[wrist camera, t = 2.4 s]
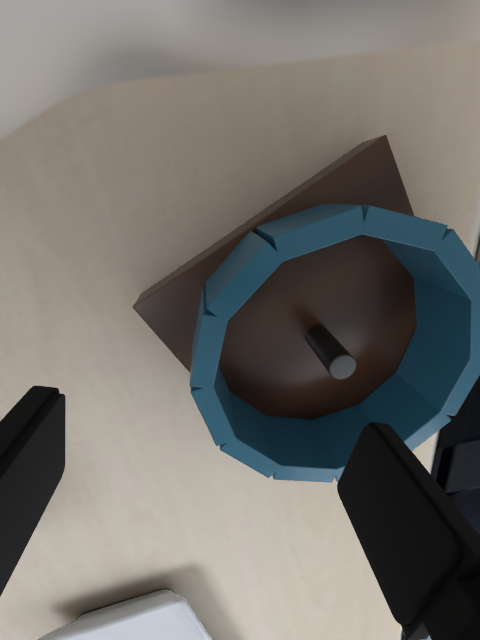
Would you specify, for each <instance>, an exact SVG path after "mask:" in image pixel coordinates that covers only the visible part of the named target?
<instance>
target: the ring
mask: <svg viewBox="0 0 480 640" xmlns="http://www.w3.org/2000/svg"><path fill="white" fill-rule="evenodd" d="M447 227H448V226H447V225H445V224H441V223H437V222H433V221H429V220H425V219H421V218H417V217H413V216H409V215H405V214H402V213H398V212H394V211H390V210H386V209H382V208H378V207H374V206H370V205H351V204H332V203H329V204H320V205H317V206H314V207H312V208H309V209H306V210H303V211H300V212H297V213H294V214H291V215H288V216H285V217H283V218H280V219H277V220H274V221H271V222H268V223H265V224H262V225H259V226H257V227H256V229H257V233H258V235H257V234H255V233H254V232H253V231H249V233H248V234H247V235H246V236H245V237H244V238H243V239H242V241H241V242H240V243H239V244H238V245H237V246H236V248H235V249H234V250H233V251H232V252H231V253H230V254H229V256H228V257H227V258H226V259H225V260H224V261H223V262H222V264H221V265H220V266H219V267H218V268H217V269H216V270H215V272H214V273H213V274H212V275H211V276H210V277H209V278H208V280H207V281H206V282H205V283H206V288H205V287H203V289H202V294H201V300H200V306H199V311H198V317H197V323H196V328H195V334H194V340H193V345H192V360H191V375H190V387H191V394H192V396H193V398H194V400H195V402H196V404H197V406H198V409H199V411H200V413H201V415H202V417H203V419H204V421H205V423H206V425H207V427H208V429H209V432H210V434H211V436H212V438H213V440H214V442H215V444H216V446H218V445H220V450H221V451H223V452H225V453H226V454H228V455H230V456H232V457H233V458H235V459H237V460H239V461H240V462H242V463H244V464H245V465H247V466H249V467H251V468H252V469H254V470H256V471H258V472H259V473H261V474H263V475H264V476H266V477H268V478H269V477H270V476H272V475H273V479H276V480H295V481H313V482H331V483H332V481H333V479H334V477H335V478H336V481H337V482H338V481H339V479H340V477H341V474H342V472H343V470H344V468H345V466H346V464H347V461H348V459H349V457H350V455H351V453H352V451H353V448H354V446H355V444H356V442H357V440H358V438H359V435H360V433H361V431H362V429H363V427H365V426H367V425H368V423H370V422H377V423H387V424H389V425H390V426H391V427H392V428H393V429H394V430H395V432H396V433H397V434H398V435H399V436H400V438H401V439H402V440H403V441H404V443H405V444H406V445H407V446H408V448H409V449H410V450H411V451H412V450H414V449H415V448H416V447H418V446H419V445H420V444H421V443H423V442H424V441H425V440H427V439H428V438H429V437H430V436H432V435H433V434H434V433H436V432H437V431H438V430H439V429H441V428H442V427H443V426H444V425H446V424H447V423H448V422H450V421H451V419H450V418H449V417H448V416H447V415H453V416H455V415H456V414H457V412H458V410H459V408H460V407H461V405H462V403H463V402H464V400H465V398H466V397H467V395H468V393H469V392H470V390H471V388H472V387H473V385H474V383H475V381H476V380H477V378H478V376H479V375H480V267H479V265H478V264H477V262H476V261H475V259H474V258H473V257H472V255H471V254H470V252H469V251H468V249H467V248H466V247H465V245H464V244H463V242H462V241H461V239H460V238H459V237H458V235H457V234H456V232H455V231H454V230H453V229H447ZM359 235H367V236H371V237H375V238H379V239H382V241H383V242H384V243H385V244H386V245H387V247H388V248H389V249H390V250H391V251H392V253H393V254H394V255H395V256H396V257H397V259H398V260H399V261H400V262H401V263H402V265H403V266H404V267H405V268H406V269H407V271H408V272H409V273H410V274H411V275H412V277H413V278H414V292H415V307H416V321H417V328H416V330H415V332H414V335H413V337H412V339H411V341H410V343H409V345H408V347H407V349H406V352H405V354H404V356H403V358H402V360H401V362H400V364H399V366H398V369H397V371H396V372H395V373H394V374H393V375H392V376H391V377H390V378H388V379H387V380H386V381H385V382H384V383H383V384H381V385H380V386H379V387H378V388H377V389H376V390H374V391H373V392H372V393H371V394H370V395H369V396H367V397H366V398H365V399H364V400H363V401H362V402H361V403H359V404H358V405H355V406H352V407H349V408H346V409H343V410H340V411H337V412H334V413H331V414H328V415H325V416H322V417H319V418H316V419H313V420H307V419H297V418H287V417H277V416H266V415H265V414H263V413H262V412H260V411H259V410H257V409H256V408H254V407H253V406H251V405H250V404H248V403H247V402H245V401H244V400H242V399H241V398H240V397H238V396H237V395H235V394H234V393H232V392H231V391H229V389H228V387H227V384H226V382H225V379H224V377H223V374H222V372H221V370H220V367H219V365H218V364H219V359H220V354H221V350H222V345H223V341H224V336H225V331H226V327H227V322H228V320H229V319H230V318H231V317H232V316H233V315H234V314H235V313H236V312H237V310H238V309H239V308H240V307H241V306H242V305H243V304H244V303H245V302H246V301H247V300H248V299H249V298H250V297H251V295H252V294H253V293H254V292H255V291H256V290H257V289H258V288H259V287H260V286H261V285H262V284H263V283H264V281H265V280H266V279H267V278H268V277H269V276H270V275H271V274H272V273H273V272H274V271H275V270H276V269H277V267H278V266H279V265H280V264H281V263H282V262H283V261H286V260H289V259H292V258H295V257H298V256H300V255H303V254H306V253H309V252H312V251H315V250H318V249H321V248H324V247H327V246H330V245H333V244H336V243H338V242H341V241H344V240H347V239H350V238H353V237H356V236H359Z"/></svg>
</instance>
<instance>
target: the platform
mask: <svg viewBox="0 0 480 640" xmlns="http://www.w3.org/2000/svg"><path fill="white" fill-rule="evenodd" d="M329 203H332V204H351V205H370V206H374V207H378V208H382V209H386V210H390V211H394V212H398V213H402V214H405V215H409V216H413V217H414V214H413V211H412V208H411V205H410V203H409V200H408V197H407V194H406V191H405V188H404V185H403V182H402V180H401V177H400V174H399V171H398V168H397V165H396V162H395V159H394V157H393V154H392V151H391V148H390V145H389V142H388V139H387V136H386V135H384V136H381V137H378V138H375V139H372V140H369V141H366V142H363V143H361V144H360V145H358V146H357V147H355V148H354V149H352V150H351V151H349V152H348V153H347V154H345V155H344V156H342V157H341V158H339V159H338V160H336V161H335V162H333V163H332V164H330V165H329V166H328V167H326V168H325V169H323V170H322V171H320V172H319V173H317V174H316V175H314V176H313V177H311V178H310V179H309V180H307V181H306V182H304V183H303V184H301V185H300V186H298V187H297V188H295V189H294V190H292V191H291V192H290V193H288V194H287V195H285V196H284V197H282V198H281V199H279V200H278V201H276V202H275V203H273V204H272V205H271V206H269V207H268V208H266V209H265V210H263V211H262V212H260V213H259V214H257V215H256V216H254V217H253V218H252V219H250V220H249V221H247V222H246V223H244V224H243V225H241V226H240V227H238V228H237V229H235V230H234V231H233V232H231V233H230V234H228V235H227V236H225V237H224V238H222V239H221V240H219V241H218V242H216V243H215V244H214V245H212V246H211V247H209V248H208V249H206V250H205V251H203V252H202V253H200V254H199V255H197V256H196V257H195V258H193V259H192V260H190V261H189V262H187V263H186V264H184V265H183V266H181V267H180V268H178V269H177V270H176V271H174V272H173V273H171V274H170V275H168V276H167V277H165V278H164V279H162V280H161V281H159V282H158V283H157V284H155V285H154V286H152V287H151V288H149V289H148V290H146V291H145V292H143V293H142V294H141V295H140V296H139V298H138V299H137V301H136V303H135V304H134V306H133V308H134V309H135V311H136V312H137V313H138V314H139V315H140V316H141V317H142V319H143V320H144V321H145V322H146V323H147V324H148V325H149V327H150V328H151V329H152V330H153V331H154V332H155V333H156V334H157V336H158V337H159V338H160V339H161V340H162V341H163V342H164V344H165V345H166V346H167V347H168V348H169V349H170V350H171V352H172V353H173V354H174V355H175V356H176V357H177V358H178V360H179V361H180V362H181V363H182V364H183V365H184V366H185V368H186V369H187V370H188V371H189V372H190V373H191V360H192V345H193V340H194V334H195V328H196V323H197V317H198V311H199V306H200V300H201V294H202V289H203V287H205V288H206V283H205V282H206V281H207V280H208V278H209V277H210V276H211V275H212V274H213V273H214V272H215V270H216V269H217V268H218V267H219V266H220V265H221V264H222V262H223V261H224V260H225V259H226V258H227V257H228V256H229V254H230V253H231V252H232V251H233V250H234V249H235V248H236V246H237V245H238V244H239V243H240V242H241V241H242V239H243V238H244V237H245V236H246V235H247V234H248V233H249V231H253V232H254V233H255V234H257V235H258V233H257V229H256V227H257V226H259V225H262V224H265V223H268V222H271V221H274V220H277V219H280V218H283V217H285V216H288V215H291V214H294V213H297V212H300V211H303V210H306V209H309V208H312V207H314V206H317V205H320V204H329ZM416 328H417V321H416V307H415V292H414V278H413V277H412V275H411V274H410V273H409V272H408V271H407V269H406V268H405V267H404V266H403V265H402V263H401V262H400V261H399V260H398V259H397V257H396V256H395V255H394V254H393V253H392V251H391V250H390V249H389V248H388V247H387V245H386V244H385V243H384V242H383V241H382V239H379V238H375V237H371V236H367V235H359V236H356V237H353V238H350V239H347V240H344V241H341V242H338V243H336V244H333V245H330V246H327V247H324V248H321V249H318V250H315V251H312V252H309V253H306V254H303V255H300V256H298V257H295V258H292V259H289V260H286V261H283V262H282V263H281V264H280V265H279V266H278V267H277V269H276V270H275V271H274V272H273V273H272V274H271V275H270V276H269V277H268V278H267V279H266V280H265V281H264V283H263V284H262V285H261V286H260V287H259V288H258V289H257V290H256V291H255V292H254V293H253V294H252V295H251V297H250V298H249V299H248V300H247V301H246V302H245V303H244V304H243V305H242V306H241V307H240V308H239V309H238V310H237V312H236V313H235V314H234V315H233V316H232V317H231V318H230V319H229V320H228V322H227V327H226V331H225V336H224V341H223V345H222V350H221V354H220V359H219V364H218V365H219V367H220V370H221V372H222V374H223V377H224V379H225V382H226V384H227V387H228V389H229V391H231V392H232V393H234V394H235V395H237V396H238V397H240V398H241V399H242V400H244V401H245V402H247V403H248V404H250V405H251V406H253V407H254V408H256V409H257V410H259V411H260V412H262V413H263V414H265V415H266V416H277V417H287V418H297V419H307V420H313V419H316V418H319V417H322V416H325V415H328V414H331V413H334V412H337V411H340V410H343V409H346V408H349V407H352V406H355V405H358V404H359V403H361V402H362V401H363V400H364V399H365V398H366V397H367V396H369V395H370V394H371V393H372V392H373V391H374V390H376V389H377V388H378V387H379V386H380V385H381V384H383V383H384V382H385V381H386V380H387V379H388V378H390V377H391V376H392V375H393V374H394V373H395V372H396V371H397V369H398V366H399V364H400V362H401V360H402V358H403V356H404V354H405V352H406V349H407V347H408V345H409V343H410V341H411V339H412V337H413V335H414V332H415V330H416Z"/></svg>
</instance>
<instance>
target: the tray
mask: <svg viewBox="0 0 480 640" xmlns="http://www.w3.org/2000/svg"><path fill="white" fill-rule="evenodd" d="M37 640H212V638H211V637H210V636H209V634H208V633H207V631H206V630H205V628H204V627H203V625H202V624H201V622H200V621H199V619H198V618H197V616H196V614H195V613H194V611H193V610H192V608H191V607H190V605H189V604H188V602H187V600H186V599H185V598H184V597H182V596H180V595H178V594H174V593H173V591H171V590H168V589H163V590H159V591H155V592H152V593H149V594H145V595H142V596H139V597H136V598H133V599H130V600H126V601H123V602H120V603H117V604H114V605H111V606H107V607H104V608H101V609H98V610H95V611H92V612H88V613H86V614H83V615H82V616H80V617H79V618H78V619H77V621H75V622H73V623H70V624H67V625H65V626H62V627H60V628H58V629H56V630H54V631H52V632H50V633H48V634H46V635H44V636H43V637H41V638H39V639H37Z"/></svg>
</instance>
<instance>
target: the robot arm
mask: <svg viewBox="0 0 480 640" xmlns="http://www.w3.org/2000/svg"><path fill="white" fill-rule="evenodd" d="M64 468H65V395H64V394H59V390H58V388H53V387H44V386H33V387H32V388H31V389H30V390H29V391H28V392H27V393H26V394H25V395H24V396H23V397H22V398H21V399H20V401H19V402H18V403H17V404H16V405H15V406H14V407H13V408H12V409H11V410H10V412H9V413H8V414H7V415H6V416H5V417H4V418H3V419H2V420H1V421H0V596H1V594H2V592H3V590H4V588H5V586H6V584H7V582H8V580H9V579H10V577H11V575H12V573H13V571H14V569H15V567H16V565H17V563H18V561H19V559H20V557H21V555H22V553H23V551H24V549H25V547H26V546H27V544H28V542H29V540H30V538H31V536H32V534H33V532H34V530H35V528H36V526H37V524H38V522H39V520H40V518H41V516H42V514H43V512H44V511H45V509H46V507H47V505H48V503H49V501H50V499H51V497H52V495H53V493H54V491H55V489H56V487H57V485H58V483H59V481H60V479H61V477H62V475H63V472H64ZM337 490H338V494H339V496H340V499H341V501H342V503H343V505H344V507H345V510H346V512H347V514H348V516H349V519H350V521H351V523H352V525H353V528H354V530H355V532H356V534H357V537H358V539H359V541H360V543H361V545H362V548H363V550H364V552H365V554H366V557H367V559H368V561H369V563H370V566H371V568H372V570H373V572H374V575H375V577H376V579H377V581H378V583H379V586H380V588H381V590H382V592H383V595H384V597H385V599H386V601H387V604H388V606H389V608H390V610H391V613H392V615H393V616H394V618H395V620H396V621H397V622H398V623H399V624H401V626H402V628H403V630H404V633H405V635H406V637H407V639H408V640H414V639H426V638H427V637H428V636H429V635H430V637H431V639H432V640H480V535H479V534H478V533H477V532H476V530H475V529H474V528H473V527H472V525H471V524H470V523H469V522H468V520H467V519H466V518H465V517H464V515H463V514H462V513H461V512H460V511H459V509H458V508H457V507H456V506H455V504H454V503H453V502H452V501H451V499H450V498H449V497H448V496H447V494H446V493H445V492H444V491H443V490H442V488H441V487H440V486H439V485H438V483H437V482H436V481H435V480H434V478H433V477H432V476H431V475H430V473H429V472H428V471H427V470H426V469H425V467H424V466H423V465H422V464H421V462H420V461H419V460H418V459H417V457H416V456H415V455H414V454H413V453H412V451H411V450H410V449H409V448H408V446H407V445H406V444H405V443H404V441H403V440H402V439H401V438H400V436H399V435H398V434H397V433H396V432H395V430H394V429H393V428H392V427H391V426H390V425H389V424H387V423H377V422H370V423H368V425H367V426H365V427H363V429H362V431H361V433H360V435H359V438H358V440H357V442H356V444H355V446H354V448H353V451H352V453H351V455H350V457H349V459H348V461H347V464H346V466H345V468H344V470H343V472H342V474H341V477H340V479H339V481H338V485H337Z"/></svg>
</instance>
